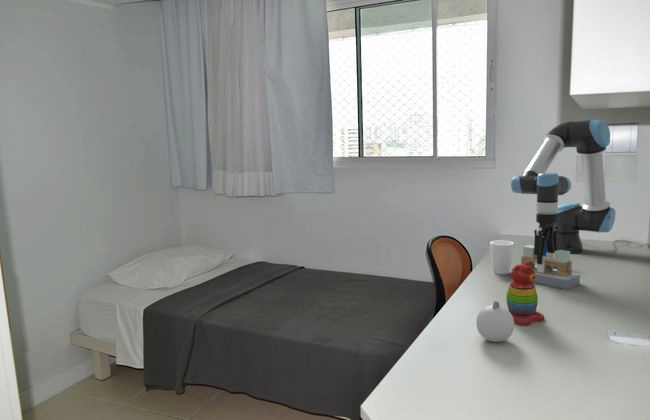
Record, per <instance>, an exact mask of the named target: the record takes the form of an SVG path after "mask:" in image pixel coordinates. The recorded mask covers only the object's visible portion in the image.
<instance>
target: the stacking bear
mask: <svg viewBox="0 0 650 420" xmlns="http://www.w3.org/2000/svg"><path fill="white" fill-rule="evenodd" d="M510 273H511V278H512V281H511V282H510V283H509V285H508V287H507V292H506V299H505V300H506V305H507V310H508V311H509V312H510V313H511V315H512V317H513V319H514V324H516V325H519V326H530V325H531V324H532V323H534V322H543V321H545V319H546V318H545V315H544V314H543V313H541V312H539V311H537V307H538V300H539V295H538V293H537V292H538V291H537V288H536V284H535V283H534V282H533V281H534V280H535V277H536V274H535V272H534V271H533V269H532V268H531V267H530V266H529V265H528V263H525V264H521V263H520V264H516V265H514V266H513V267H512V269H511V270H510Z"/></svg>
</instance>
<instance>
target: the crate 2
mask: <svg viewBox="0 0 650 420" xmlns="http://www.w3.org/2000/svg"><path fill="white" fill-rule="evenodd" d="M570 261H571V253H570V251H565V250H558V251H555V253H554V262H559V263H567V262H570Z"/></svg>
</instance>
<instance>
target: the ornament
mask: <svg viewBox="0 0 650 420" xmlns="http://www.w3.org/2000/svg"><path fill="white" fill-rule="evenodd" d="M475 323H476V328H477V331H478V333H479V334H480V336H481V337H482V338H484V339H485V340H487V341H489V342H493V343H501V342H505V341H507V340H508V339H510V337H511V336H512V334H513V333H514V329H515V323H514V319H513V317H512V315H511V313H510V312H509V310H508V308H506V307H503V306H501V305H500V301H498V300H493V304H491V305H488V306H485V307H483V308H481V310H480V311H479V312H478V314H477V316H476V322H475Z"/></svg>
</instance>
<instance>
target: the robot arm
mask: <svg viewBox="0 0 650 420" xmlns="http://www.w3.org/2000/svg"><path fill="white" fill-rule="evenodd" d="M610 131H611V130H610V127H609V125H608V123H607V122H606V121H605V120H602V119H590V120H589V119H587V120H574V121H573V120H571V121H565V122H563V123H560V124H558V125H556V126H555V127H552V128H551V129H550V130H549V131H548V132H547V133H546V134H545V136H544V137H543V139H542V142H541V146H540V148H539V149H538V150H537V152H536V153H535V154H534V157H532V160H531V161H530V163H528V166H527V167H526V168H525V170H524V172H523V173H522V175H520V174H519V175H514V176H513V177H512V179H511V181H510V187H511V190H512V192H513V193H514V194H521V195H536V204H535V205H536V213H535V214H536V215H535V216H536V219H535V221H536V223H538V225H539V226H538V229H534V242H533V243H534V245H533V246H534V255H537V263H536V266H537V272H542V273H545V256H544V251H545V246H546V244H547V251H548V252H549V253H546V257H548V258H554V255H555V251H558V250H565V251H570V254H578V253H582V252H583V250H584V247H583V243H582V241H581V237H580V231H581V232H582V231H583V232H593V233H609V232H611V230H612V228H613V226H614V225H615V224H614V223H615V220H616V209H615V208H614V207H611V203H610V202H609V201H607V199H606V187H605V184H606V183H605V174H604V173H605V172H604V158H603V157H604V156H603V153H604V152H605V151H606V150H607V147H608V146H609V145H610V143H611V132H610ZM566 148H576V153H577V154H578V155H580V160H581V172H582V173H581V174H582V183H583V184H582V185H583V193H584V194H583V195H584V202H583V203H582V204H581V203H579V202H566V203H561V204H558V203H559V202H558V201H559V196H563V195H565V194H567V193H568V192H569V191H570V190H571V188H572V182H571V180H570V179H569V178H568V177H567V176H564V175H559V174H558V173H556V172H547V171H548V169H549V167H550V166H551V164H552V163H553V162H554V160H555V158H556V157H557V155H558V154H559V153H560V152H562V151H563V149H566Z"/></svg>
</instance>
